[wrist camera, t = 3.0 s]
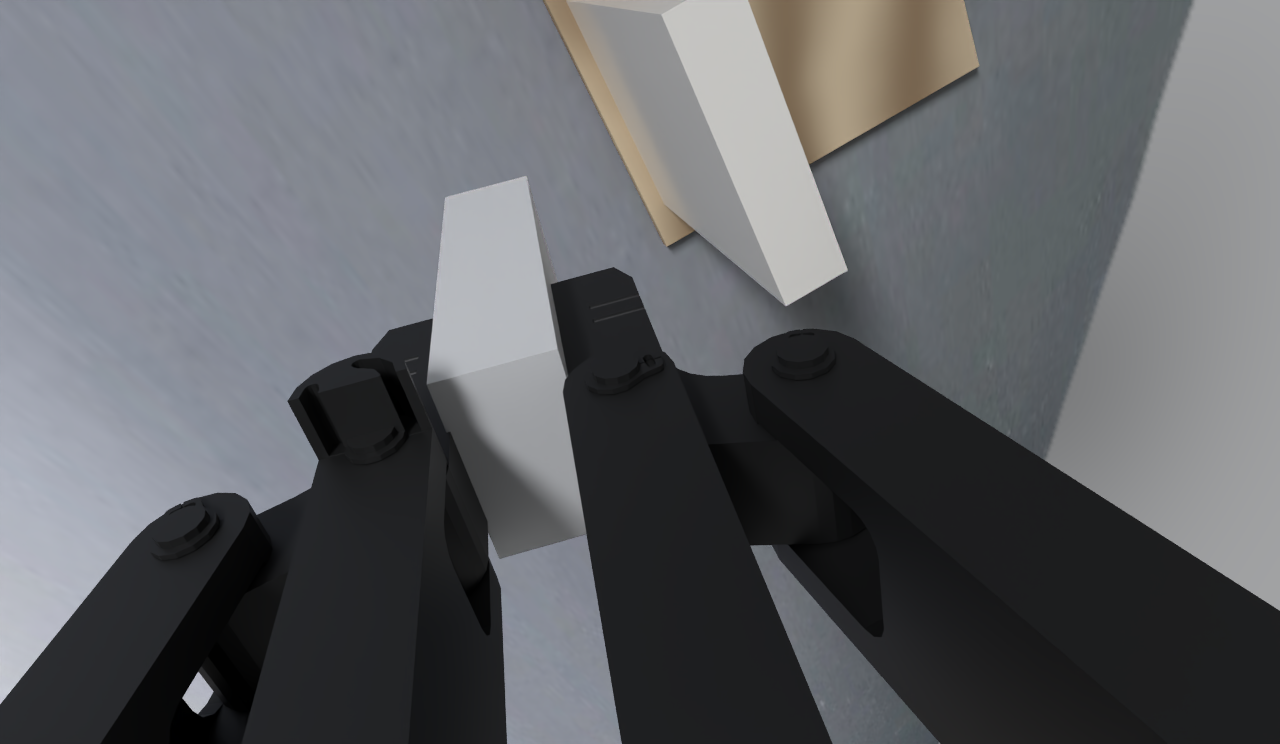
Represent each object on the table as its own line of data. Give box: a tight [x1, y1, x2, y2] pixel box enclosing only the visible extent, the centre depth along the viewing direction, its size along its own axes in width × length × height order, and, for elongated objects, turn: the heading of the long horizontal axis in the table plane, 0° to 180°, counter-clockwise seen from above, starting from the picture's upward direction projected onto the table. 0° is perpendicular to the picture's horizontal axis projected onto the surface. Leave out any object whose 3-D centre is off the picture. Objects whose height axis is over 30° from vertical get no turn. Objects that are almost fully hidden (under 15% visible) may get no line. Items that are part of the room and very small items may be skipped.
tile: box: [566, 0, 848, 306], centre depth 31 cm, size 3×10×14 cm, turn 27°
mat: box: [543, 0, 979, 246], centre depth 37 cm, size 18×14×1 cm
